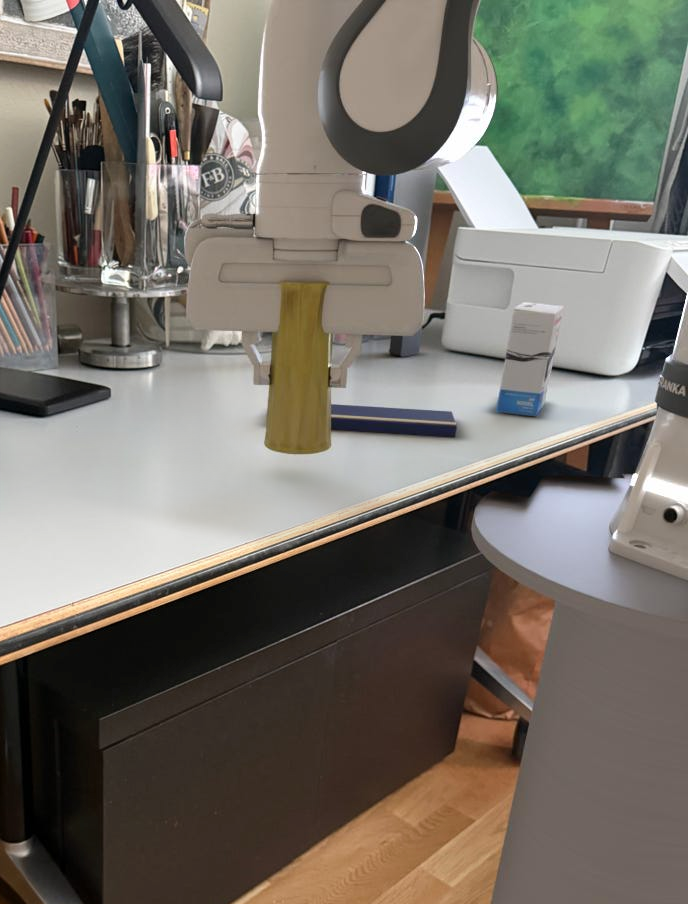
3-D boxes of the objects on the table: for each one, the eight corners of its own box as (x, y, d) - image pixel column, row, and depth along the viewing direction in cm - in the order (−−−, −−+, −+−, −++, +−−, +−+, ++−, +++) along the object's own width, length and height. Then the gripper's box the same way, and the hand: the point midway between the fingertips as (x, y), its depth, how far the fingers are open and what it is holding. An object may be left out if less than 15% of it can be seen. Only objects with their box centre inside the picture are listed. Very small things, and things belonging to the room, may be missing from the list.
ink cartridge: (407, 351, 147) (413, 298, 143) (419, 354, 146) (426, 299, 142) (388, 355, 144) (394, 300, 140) (400, 357, 142) (406, 302, 139)
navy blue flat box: (450, 421, 107) (452, 410, 106) (455, 437, 101) (457, 425, 100) (276, 410, 109) (277, 399, 109) (271, 425, 103) (271, 413, 103)
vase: (314, 458, 81) (323, 284, 75) (252, 449, 84) (256, 280, 78) (341, 443, 86) (352, 278, 80) (281, 435, 89) (287, 275, 83)
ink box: (537, 418, 110) (557, 312, 104) (494, 412, 111) (511, 308, 106) (546, 403, 117) (565, 304, 111) (505, 398, 118) (522, 300, 113)
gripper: (177, 214, 75) (178, 388, 81) (435, 216, 73) (417, 396, 79) (190, 212, 81) (191, 374, 87) (431, 214, 78) (414, 382, 84)
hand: (300, 385), depth 83 cm, fingers closed on vase, 5 cm apart
